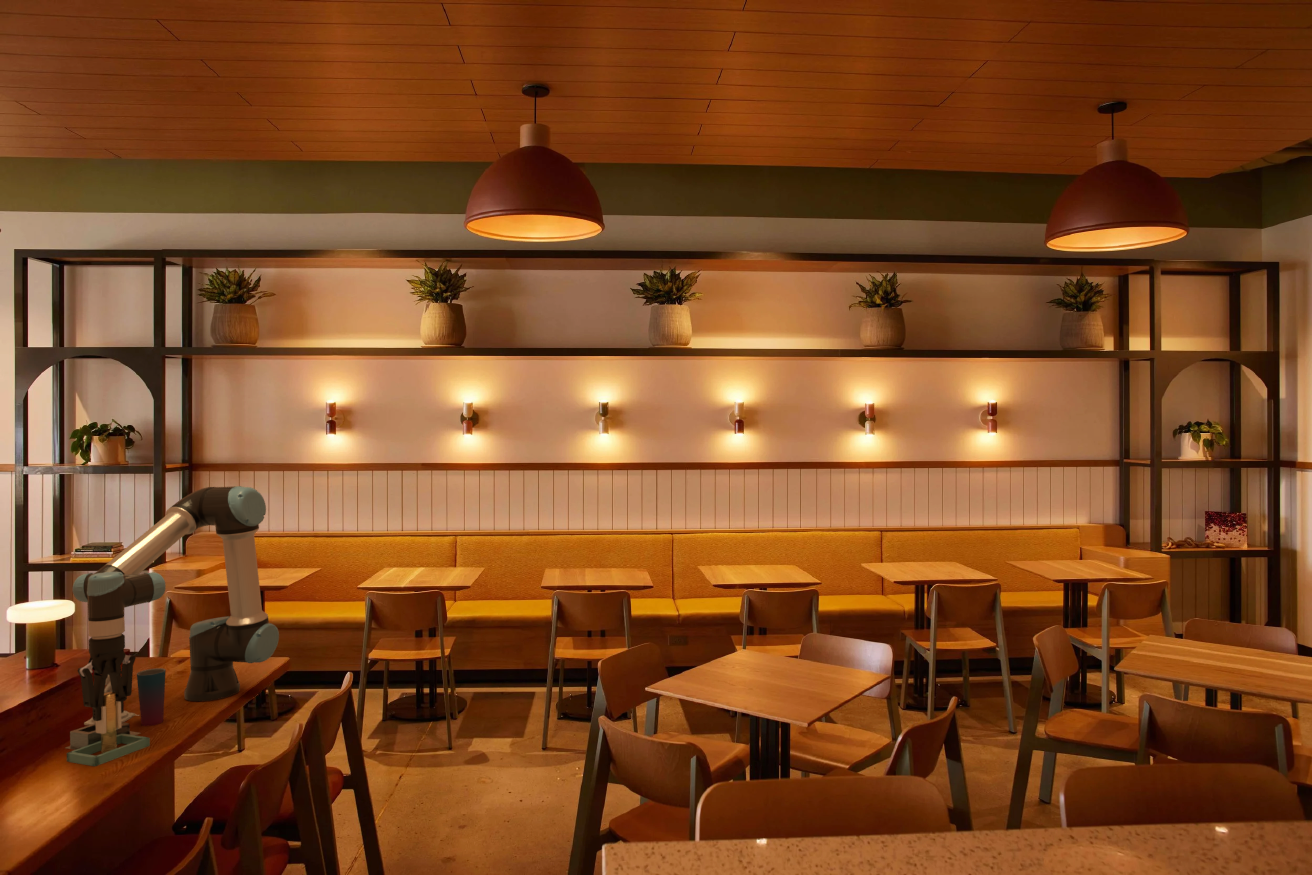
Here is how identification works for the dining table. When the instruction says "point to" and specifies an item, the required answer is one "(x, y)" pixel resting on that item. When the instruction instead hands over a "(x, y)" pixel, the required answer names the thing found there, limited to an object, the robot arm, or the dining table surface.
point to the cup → (151, 695)
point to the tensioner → (93, 735)
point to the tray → (85, 758)
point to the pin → (109, 723)
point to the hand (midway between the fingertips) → (108, 729)
